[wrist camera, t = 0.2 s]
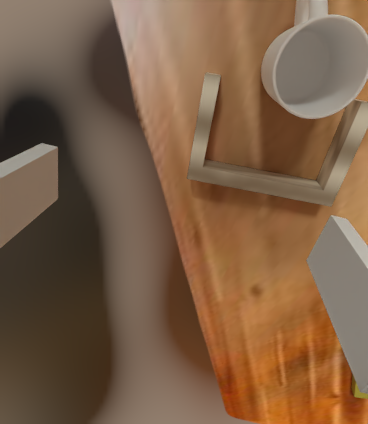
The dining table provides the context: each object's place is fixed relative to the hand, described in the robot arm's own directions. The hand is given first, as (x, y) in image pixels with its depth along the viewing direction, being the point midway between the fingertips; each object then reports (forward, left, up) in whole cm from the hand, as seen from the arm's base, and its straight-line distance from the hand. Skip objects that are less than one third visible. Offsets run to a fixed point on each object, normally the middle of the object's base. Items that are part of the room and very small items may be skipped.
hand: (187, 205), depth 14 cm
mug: (-8, +8, -28) cm, 30 cm away
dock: (+2, +8, -28) cm, 29 cm away
